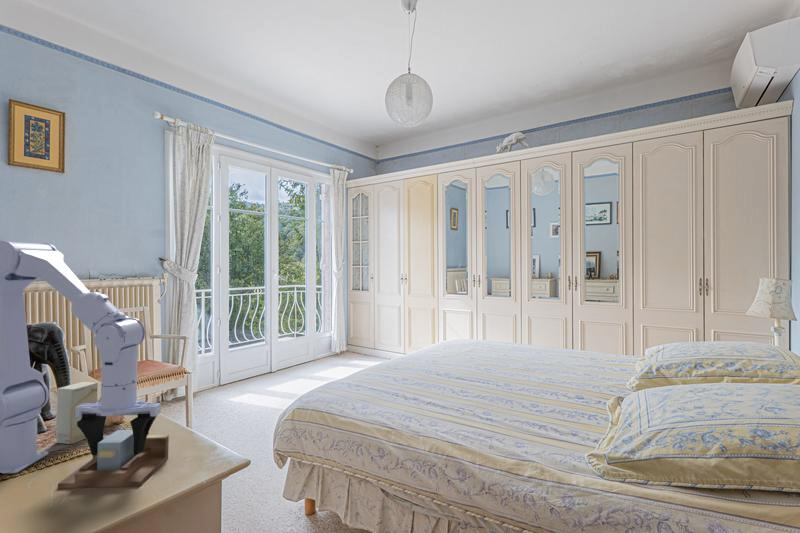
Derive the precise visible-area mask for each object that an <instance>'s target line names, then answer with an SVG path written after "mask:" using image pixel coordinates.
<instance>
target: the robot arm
mask: <svg viewBox="0 0 800 533" xmlns="http://www.w3.org/2000/svg"><path fill="white" fill-rule="evenodd" d="M64 258H65V256H64V254H63V253H62V252H60V251H59V250H58V249H57V247H56V246H55V245H53V244H51V243H45V242H42V243H41V242H40V243H37V242H36V243H34V242H20V241H8V240H0V472H1V473H2V474H16V473H17V474H18V473H19V472H21V471H22V470H24V469H26V468H28V467H29V466H31V465H32V464H34V463H35V462H37V461H39V460H41V459H43V458H45V457H46V456H48V455H49V452H48V451H38V450H37V449H38V415H40V414H42V408H43V407H45V405H47V403H48V401H49V398H50V392H49V388H48V386H47V385H46V383H45V381H44V374H43V373H42V372H41V371H39V370H37V369H35V368H33V367H31V360H30V358H31V357H30V351H29V350H30V348H29V338H28V328H27V316H26V307H25V297H24V292H25V291H24V290H25V289H26V288H28V287H29V286H30V285H31V284H32V283H34V282H36V281H38V280H39V279H42V280H43V281H45V282H46V283H47V284H48V285H50V286H51V287H52V288H53V289H55V291H57V292H58V293H59V294H60V295H62V296H63V297H64V298H65V299H66V300H68V301H69V302H70V303H71V307H70V308H71V313H72V314H73V316H75V318H76V319H78V320H79V321H80V322H81V324H83V325H84V326H85V327H86V328H87V329H88V330H89V331H90V332H91V333H92V334H93V335H94V336H93V338H92V339H93V343H94V346H95V348H96V349H97V350H98V355H99V357H98V359H100V362H101V372H100V374H101V375H100V376H101V378H100V379H101V380H100V397H101V402H99V403H98V402H97V403H87V404H81V405H79V406H77V407H76V410H75V417H82V418H81V420H79V421H78V422H77V426H78V427H79V428H80V430H81V431H82V432H83V434H84V435H85V437H86V438H85V439H86V442H87V444H88V446H89V450H90V453H91V456H93V455H96V454H98V443H99V442H100V441H102V440H103V436H104V430H105V426H106V425H105V421H106V417H107V416H112V415H124V416H137V417H135V418H134V419H132V420H130V426H131V430H133V437H134V444H133V451H134V455H137V454H139V453H140V452H142V451H143V449H144V445H145V441H146V438H147V435H149V432H150V430H151V427H152V425H153V423H154V422H155V420H156V418H157V416H158V415H159V414H161V405H162V403H161V402H149V401H141V400H137V399H138V390H137V389H138V363H139V362H138V360H139V359H138V356H139V354H138V353H139V345H140V344H142V342H143V341H145V336H146V330H145V326H144V325H143V322H141V320H140V319H138V318H136V317H129V316H128V315H126V314H125V313H124V312H123V311H121V310H120V309H118V308H117V307H116V305H115V304H113V303H112V302H111V301H110V300H109V299H110V298H109V296H108V295H107V294H106V293H101V292H99V291H94V292H91V291H90V290H89V289H88V288H87V286H85V284H84V283H83V282H82V281H81V279H79V277H78V276H77V275H76V274H75V273H74V271H72V270H71V269H70V268H69V266H68V265H67V264H66V263H65V261H64Z"/></svg>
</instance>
